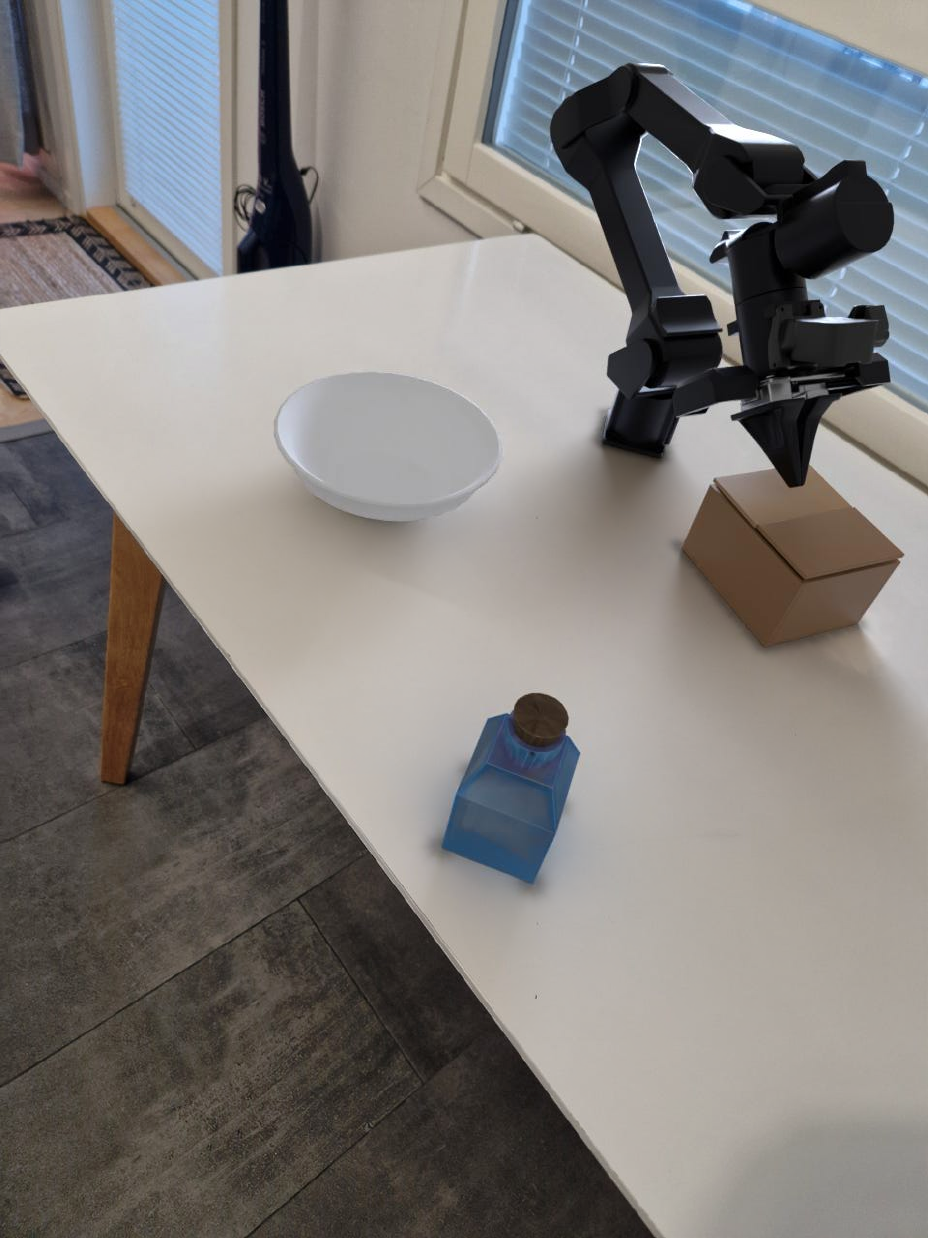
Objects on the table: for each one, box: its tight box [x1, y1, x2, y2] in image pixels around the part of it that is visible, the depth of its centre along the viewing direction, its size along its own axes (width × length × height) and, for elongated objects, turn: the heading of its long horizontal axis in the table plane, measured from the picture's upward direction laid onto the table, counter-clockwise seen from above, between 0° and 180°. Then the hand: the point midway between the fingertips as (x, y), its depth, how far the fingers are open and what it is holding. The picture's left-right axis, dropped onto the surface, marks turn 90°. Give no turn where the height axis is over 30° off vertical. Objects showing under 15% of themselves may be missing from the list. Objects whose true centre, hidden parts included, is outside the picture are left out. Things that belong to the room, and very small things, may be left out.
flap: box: [712, 464, 853, 528], centre depth 75 cm, size 6×11×1 cm, turn 113°
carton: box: [681, 483, 905, 648], centre depth 76 cm, size 13×11×8 cm
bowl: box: [273, 370, 503, 522], centre depth 77 cm, size 20×20×6 cm
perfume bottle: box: [441, 692, 581, 885], centre depth 53 cm, size 6×6×12 cm
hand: (796, 486), depth 73 cm, fingers closed
